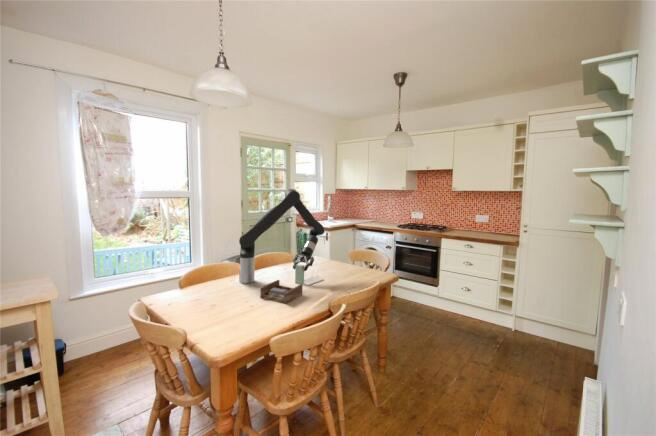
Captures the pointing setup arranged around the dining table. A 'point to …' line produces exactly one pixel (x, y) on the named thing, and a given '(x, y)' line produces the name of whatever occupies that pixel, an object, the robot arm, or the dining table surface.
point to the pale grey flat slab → (312, 280)
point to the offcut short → (278, 291)
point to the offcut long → (276, 295)
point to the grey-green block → (299, 274)
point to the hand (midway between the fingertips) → (299, 269)
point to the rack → (288, 296)
